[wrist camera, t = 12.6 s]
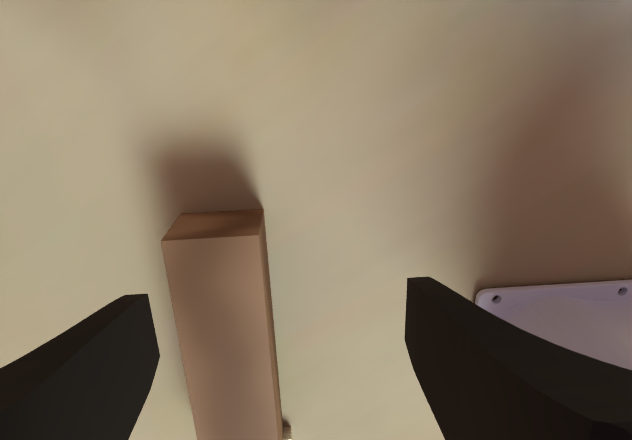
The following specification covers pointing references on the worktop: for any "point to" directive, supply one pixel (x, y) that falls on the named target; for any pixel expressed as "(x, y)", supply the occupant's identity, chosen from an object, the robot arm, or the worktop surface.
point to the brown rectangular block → (226, 323)
